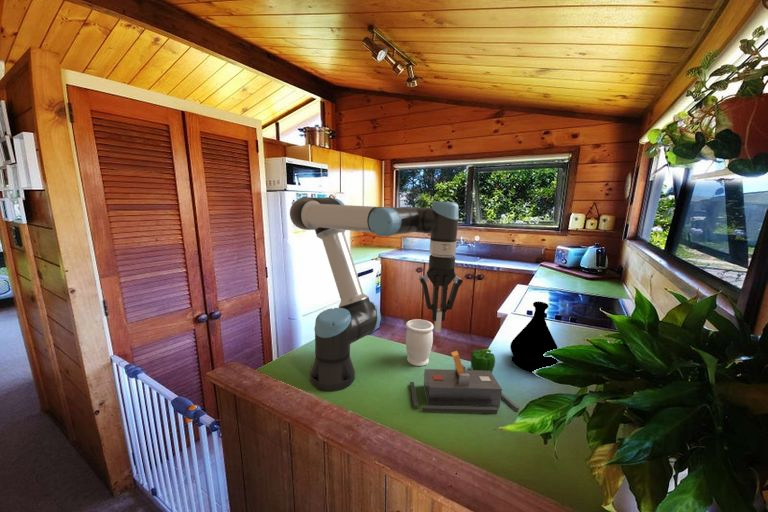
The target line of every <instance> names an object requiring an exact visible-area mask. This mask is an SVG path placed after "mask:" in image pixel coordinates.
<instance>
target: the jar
mask: <svg viewBox="0 0 768 512" xmlns="http://www.w3.org/2000/svg"><path fill="white" fill-rule="evenodd" d="M405 325H406V328H407V329H406V332H405V346H406V348H405V349H406V353H407V357H406V359H407V362H408V363H409V364H410V365H413V366H417V367H422V366H425V365H428V364H429V362H430V361H429V360H430V359H429V357H430V355H431V351H432V348H433V341H434V335H433V334H434V333H433V330H434V324H433V323H432V322H431V321H429V320H426V319H419V318H418V319H417V318H414V319H411V320H408V321H407V322H406V324H405Z"/></svg>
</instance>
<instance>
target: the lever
mask: <svg viewBox="0 0 768 512" xmlns="http://www.w3.org/2000/svg"><path fill="white" fill-rule="evenodd" d="M450 353H451V355H452V358H453V362H454V367H455V366H456V369H457V372H458V374H459V373H464V370H463V367H462V365H463V364H462V360H461V357H460V354H459V352H458V350H455V351H451V352H450Z"/></svg>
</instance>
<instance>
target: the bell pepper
mask: <svg viewBox="0 0 768 512" xmlns="http://www.w3.org/2000/svg"><path fill="white" fill-rule="evenodd" d="M491 352H492V350H491V349H489V348H485V349H484V348H483V349H473V350H472V352H471V354H470V365H471V370H481V371H491V373H492V372H493V370H494V368H495V364H496V356H495V354H494V353H491ZM492 374H493V373H492Z"/></svg>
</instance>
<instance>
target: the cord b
mask: <svg viewBox="0 0 768 512" xmlns="http://www.w3.org/2000/svg"><path fill="white" fill-rule="evenodd" d="M409 387H410V392H411V393H410V394H411V398H412V399H411V401H412V406H413V410H419V404H418V398H417V393H416V392H417V391H416V387H415V382H414V381H409Z"/></svg>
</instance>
